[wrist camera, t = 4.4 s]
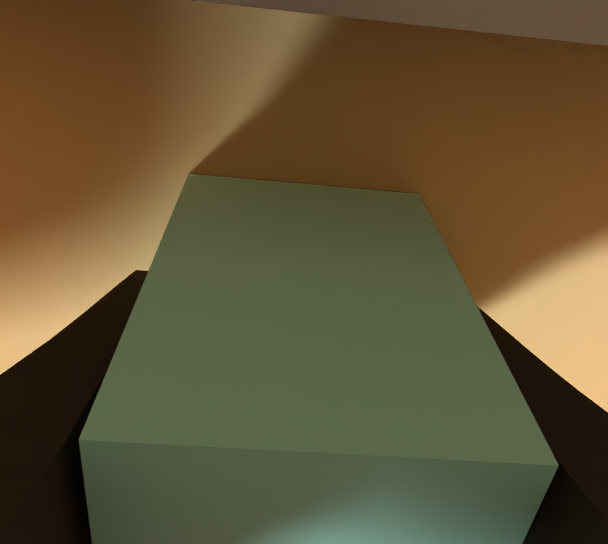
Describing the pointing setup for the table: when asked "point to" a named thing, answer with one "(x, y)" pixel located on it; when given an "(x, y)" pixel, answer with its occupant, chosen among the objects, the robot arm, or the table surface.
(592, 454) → the robot arm
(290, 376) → the square peg
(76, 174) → the table surface
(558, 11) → the bore block
